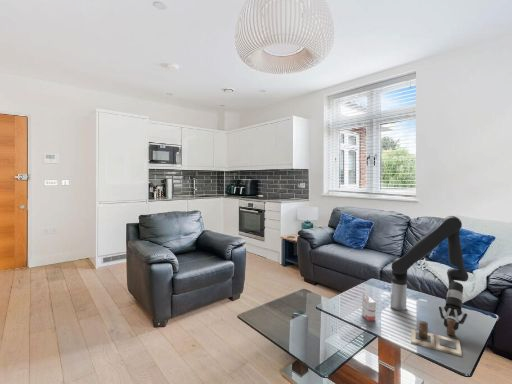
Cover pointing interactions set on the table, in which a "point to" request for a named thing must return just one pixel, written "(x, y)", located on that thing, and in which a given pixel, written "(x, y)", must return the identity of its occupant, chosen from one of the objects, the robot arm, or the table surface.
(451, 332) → the walnut pin
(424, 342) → the board
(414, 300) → the table surface
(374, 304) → the ink cartridge box
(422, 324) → the pin
